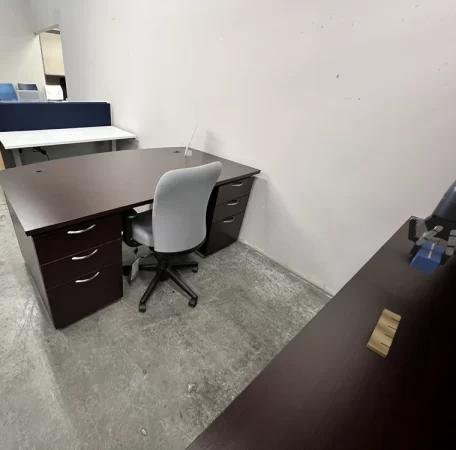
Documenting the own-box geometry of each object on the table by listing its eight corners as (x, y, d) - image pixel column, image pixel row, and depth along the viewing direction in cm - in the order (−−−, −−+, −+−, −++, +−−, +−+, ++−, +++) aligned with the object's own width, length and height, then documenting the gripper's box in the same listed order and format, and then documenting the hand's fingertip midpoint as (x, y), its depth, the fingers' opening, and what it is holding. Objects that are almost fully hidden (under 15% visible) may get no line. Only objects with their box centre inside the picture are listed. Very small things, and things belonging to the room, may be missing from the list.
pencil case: (416, 251, 69) (424, 240, 67) (436, 257, 66) (444, 246, 65) (409, 266, 62) (418, 254, 60) (431, 274, 60) (440, 262, 58)
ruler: (383, 311, 67) (384, 308, 67) (399, 319, 65) (401, 316, 64) (365, 346, 57) (368, 343, 56) (384, 358, 55) (387, 355, 54)
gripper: (514, 207, 53) (464, 268, 61) (426, 189, 63) (393, 244, 71) (517, 215, 49) (463, 280, 57) (422, 194, 59) (387, 252, 67)
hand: (424, 260), depth 64 cm, fingers closed on pencil case, 4 cm apart
